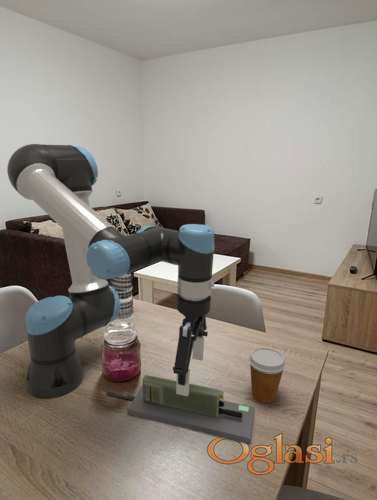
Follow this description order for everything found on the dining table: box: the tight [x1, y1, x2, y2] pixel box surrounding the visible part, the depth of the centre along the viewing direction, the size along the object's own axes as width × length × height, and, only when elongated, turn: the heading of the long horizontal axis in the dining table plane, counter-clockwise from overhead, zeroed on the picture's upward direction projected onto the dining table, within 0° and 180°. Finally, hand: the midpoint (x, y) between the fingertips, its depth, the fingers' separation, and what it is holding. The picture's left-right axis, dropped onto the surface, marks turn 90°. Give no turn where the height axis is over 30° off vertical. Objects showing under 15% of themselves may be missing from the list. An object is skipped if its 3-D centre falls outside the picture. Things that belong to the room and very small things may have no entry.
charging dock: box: [106, 384, 255, 444], centre depth 83 cm, size 38×10×2 cm, turn 74°
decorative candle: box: [109, 271, 134, 321], centre depth 128 cm, size 9×9×25 cm
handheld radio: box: [142, 374, 242, 418], centre depth 80 cm, size 7×3×25 cm
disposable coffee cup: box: [248, 346, 287, 404], centre depth 87 cm, size 10×10×12 cm
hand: (190, 375), depth 79 cm, fingers open, 13 cm apart
